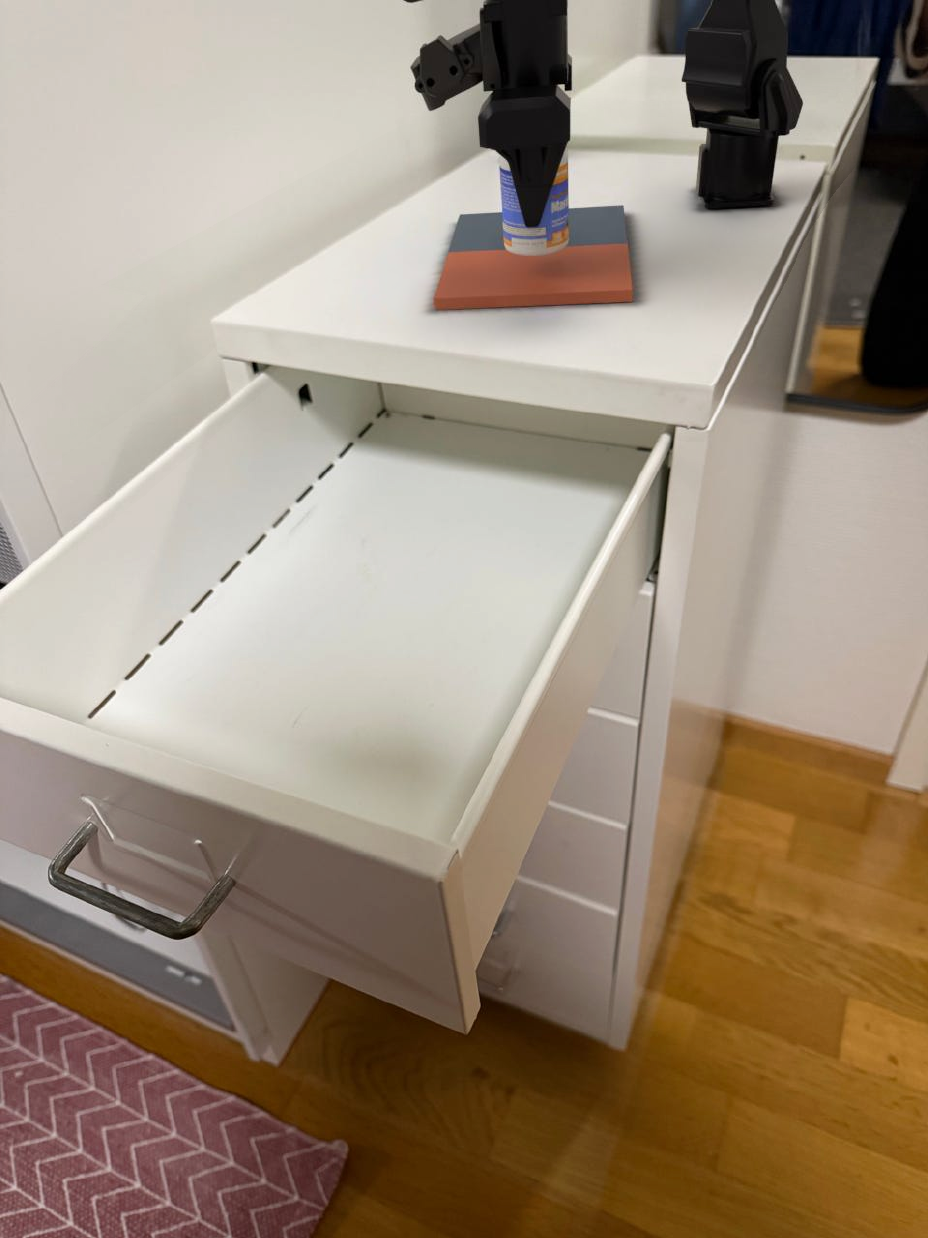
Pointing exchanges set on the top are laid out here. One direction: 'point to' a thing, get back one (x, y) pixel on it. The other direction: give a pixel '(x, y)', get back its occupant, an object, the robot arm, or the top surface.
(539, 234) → the pill bottle
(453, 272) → the board
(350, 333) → the top surface
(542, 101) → the robot arm
